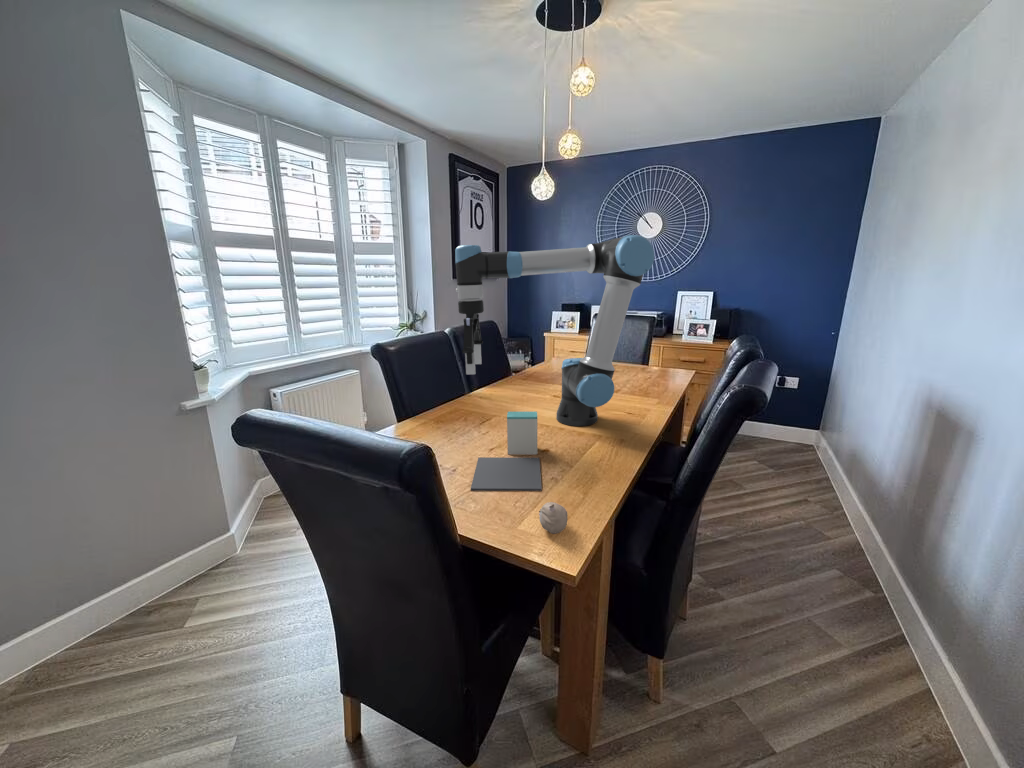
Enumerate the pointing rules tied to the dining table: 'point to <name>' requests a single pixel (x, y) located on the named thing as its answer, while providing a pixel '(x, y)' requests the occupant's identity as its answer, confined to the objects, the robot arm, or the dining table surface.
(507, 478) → the rubber mat
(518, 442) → the grey teal block
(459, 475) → the dining table surface
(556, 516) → the garlic bulb
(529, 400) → the dining table surface
